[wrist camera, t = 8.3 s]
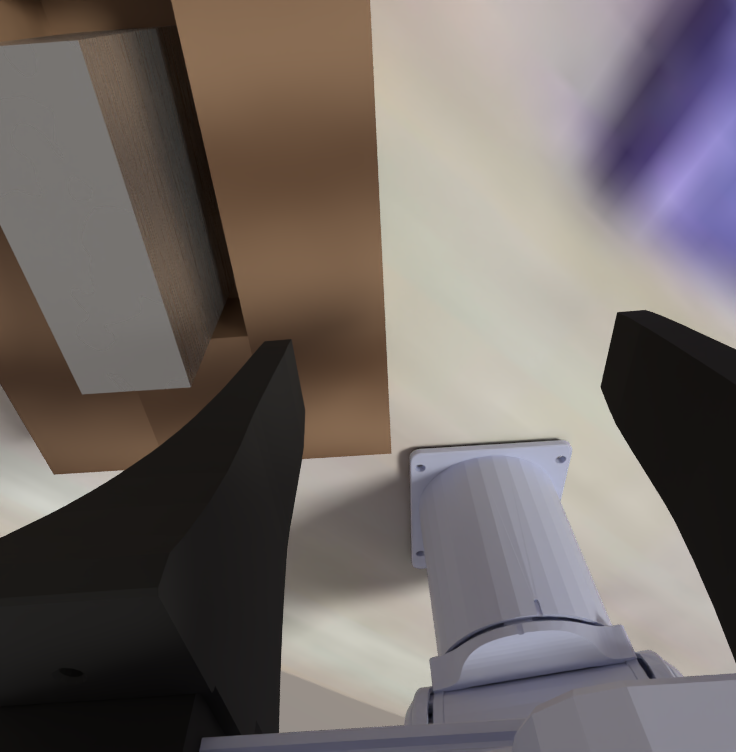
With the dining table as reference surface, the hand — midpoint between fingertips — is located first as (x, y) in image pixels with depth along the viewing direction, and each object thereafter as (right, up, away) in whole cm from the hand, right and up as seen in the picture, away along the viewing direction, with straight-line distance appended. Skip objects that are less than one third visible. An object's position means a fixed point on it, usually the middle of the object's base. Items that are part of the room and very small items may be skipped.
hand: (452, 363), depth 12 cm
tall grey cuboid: (-9, +7, +6) cm, 12 cm away
